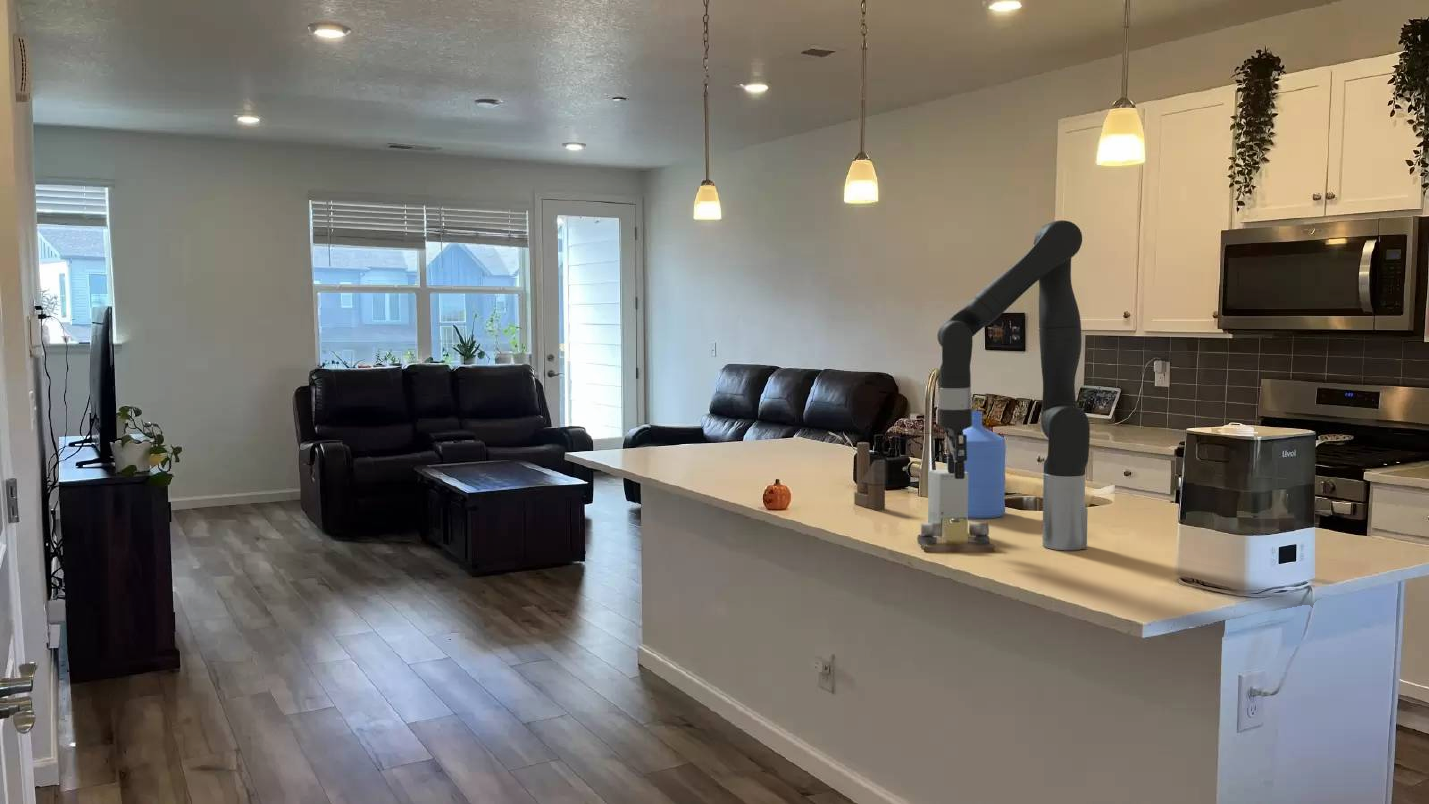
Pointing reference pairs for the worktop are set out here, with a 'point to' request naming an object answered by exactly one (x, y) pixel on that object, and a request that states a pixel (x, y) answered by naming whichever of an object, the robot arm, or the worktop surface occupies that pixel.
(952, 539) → the joint block
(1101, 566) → the worktop surface
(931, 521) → the skincare box
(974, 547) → the rig
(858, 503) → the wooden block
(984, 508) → the water jug
